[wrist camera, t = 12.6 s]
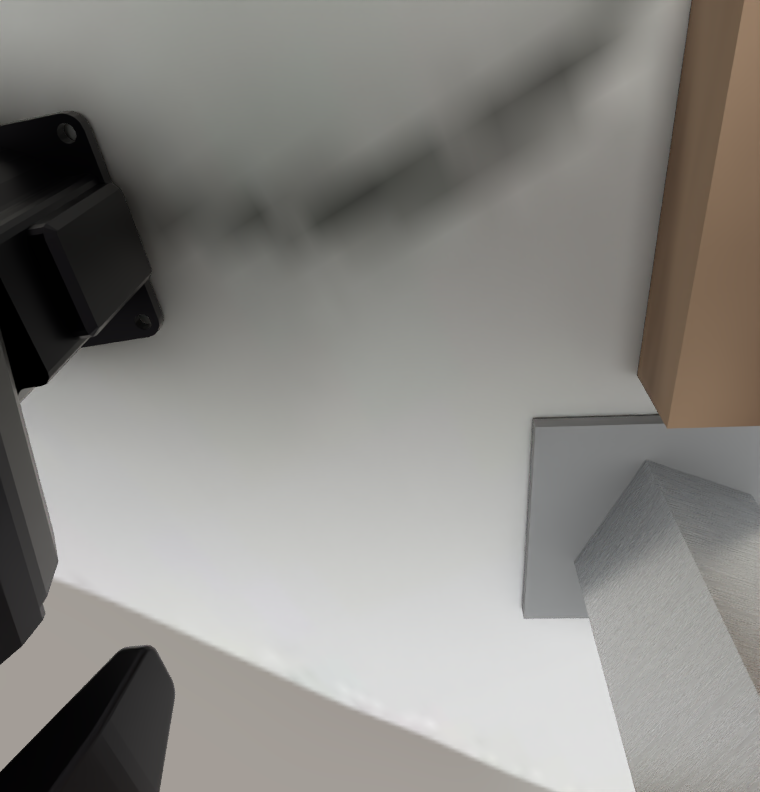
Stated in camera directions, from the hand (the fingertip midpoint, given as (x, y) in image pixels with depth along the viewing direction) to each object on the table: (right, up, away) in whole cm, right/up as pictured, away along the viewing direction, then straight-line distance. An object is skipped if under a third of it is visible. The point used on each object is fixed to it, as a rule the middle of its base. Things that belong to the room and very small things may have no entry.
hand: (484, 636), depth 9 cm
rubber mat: (+8, -1, +15) cm, 18 cm away
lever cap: (+8, -2, +15) cm, 17 cm away
